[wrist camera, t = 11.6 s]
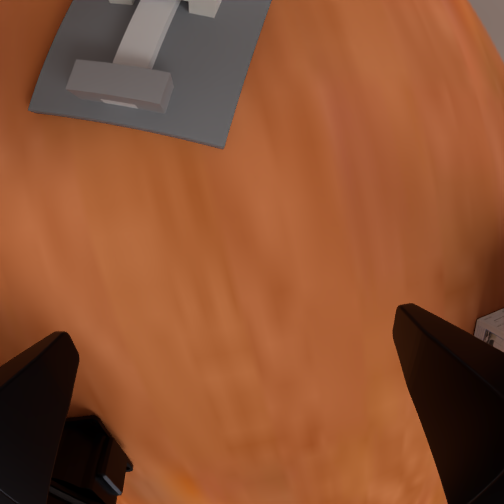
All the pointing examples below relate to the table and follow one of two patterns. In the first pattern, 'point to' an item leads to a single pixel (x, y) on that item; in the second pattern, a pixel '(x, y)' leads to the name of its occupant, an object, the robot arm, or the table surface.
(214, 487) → the table surface
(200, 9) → the block
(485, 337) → the light bulb box
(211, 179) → the table surface
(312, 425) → the table surface
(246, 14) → the rail plate
